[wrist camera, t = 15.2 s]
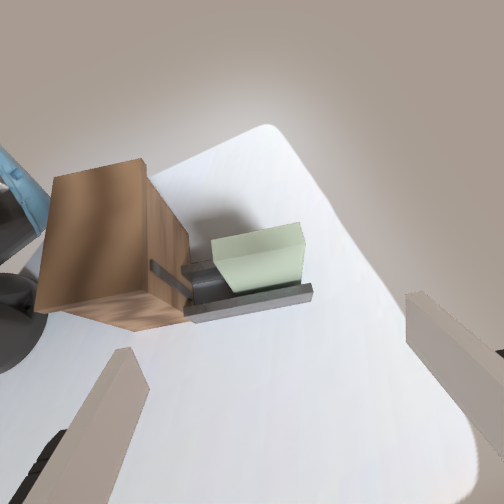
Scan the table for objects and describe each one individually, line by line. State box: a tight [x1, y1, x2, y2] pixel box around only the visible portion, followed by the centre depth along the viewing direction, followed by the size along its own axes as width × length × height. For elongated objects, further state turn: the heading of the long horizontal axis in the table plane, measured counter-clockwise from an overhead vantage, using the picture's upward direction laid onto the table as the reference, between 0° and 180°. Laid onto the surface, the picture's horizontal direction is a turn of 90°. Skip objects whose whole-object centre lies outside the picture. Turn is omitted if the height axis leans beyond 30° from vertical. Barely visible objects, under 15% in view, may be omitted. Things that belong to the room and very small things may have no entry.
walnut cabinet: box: [34, 158, 194, 332], centre depth 36 cm, size 10×15×17 cm, turn 9°
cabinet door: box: [211, 222, 305, 297], centre depth 35 cm, size 9×3×15 cm, turn 99°
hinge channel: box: [180, 259, 313, 324], centre depth 40 cm, size 16×7×5 cm, turn 99°
